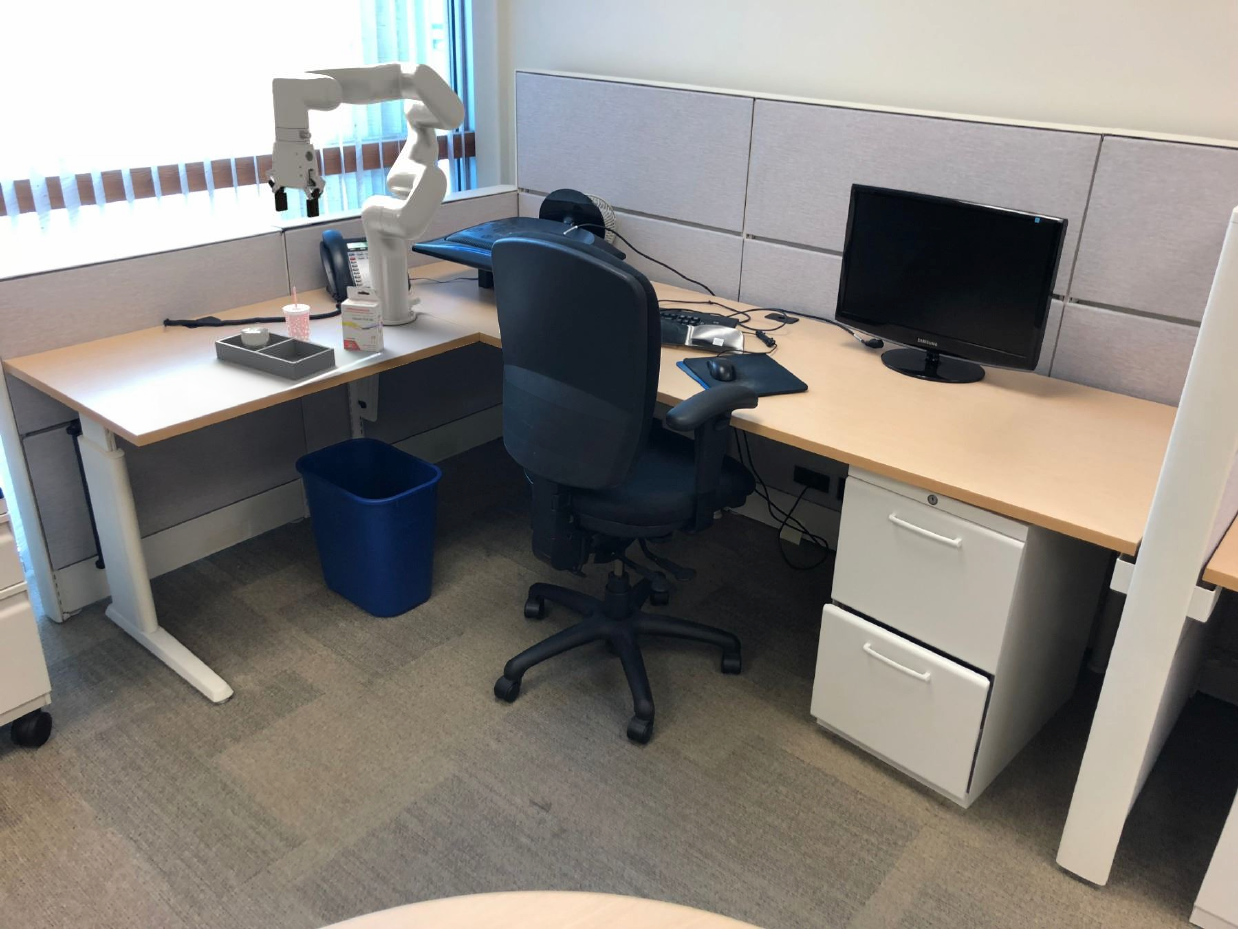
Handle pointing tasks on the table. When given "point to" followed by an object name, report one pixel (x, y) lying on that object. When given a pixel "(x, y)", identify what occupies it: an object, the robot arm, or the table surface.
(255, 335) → the metal tin
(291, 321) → the beverage cup
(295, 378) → the organizer tray
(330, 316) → the table surface
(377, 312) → the ink cartridge box
